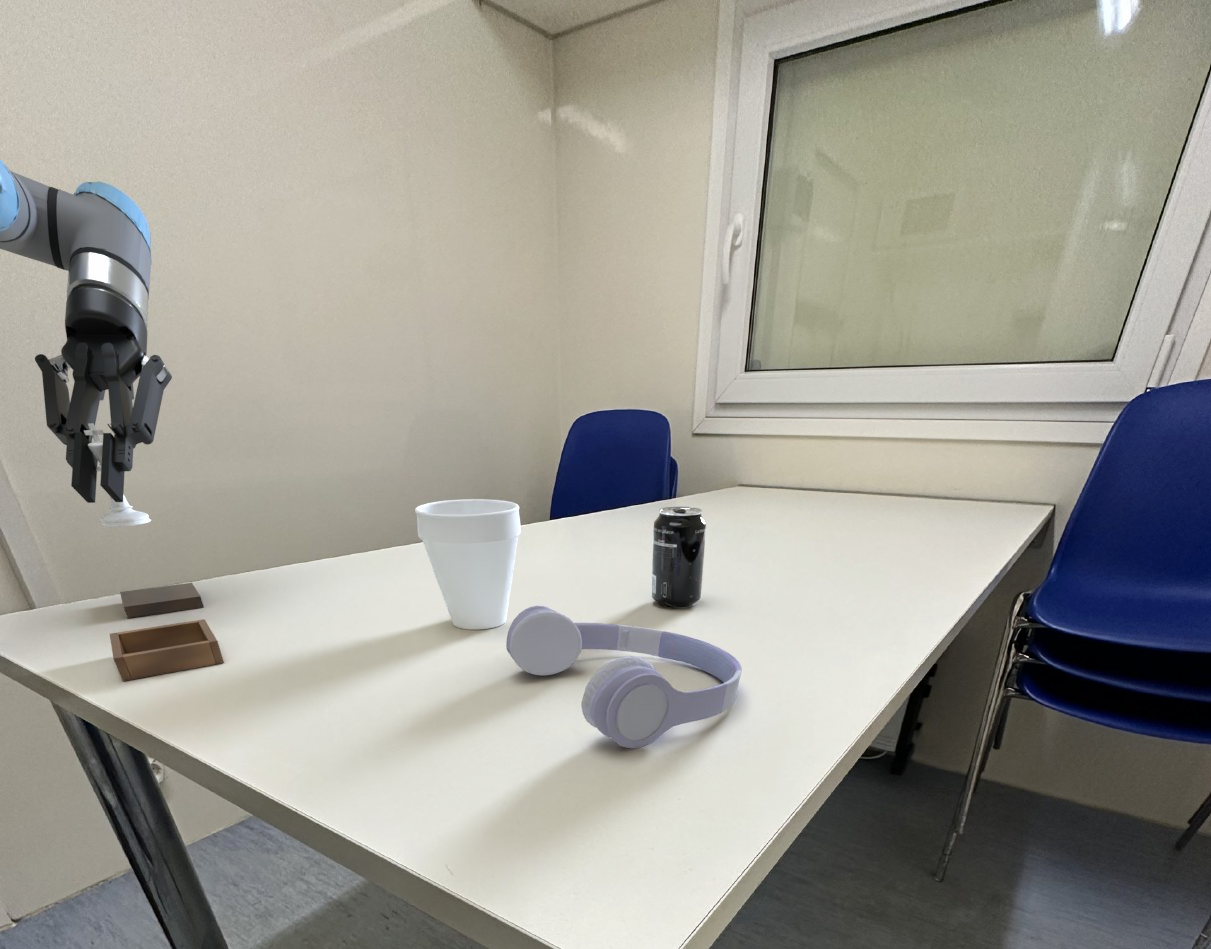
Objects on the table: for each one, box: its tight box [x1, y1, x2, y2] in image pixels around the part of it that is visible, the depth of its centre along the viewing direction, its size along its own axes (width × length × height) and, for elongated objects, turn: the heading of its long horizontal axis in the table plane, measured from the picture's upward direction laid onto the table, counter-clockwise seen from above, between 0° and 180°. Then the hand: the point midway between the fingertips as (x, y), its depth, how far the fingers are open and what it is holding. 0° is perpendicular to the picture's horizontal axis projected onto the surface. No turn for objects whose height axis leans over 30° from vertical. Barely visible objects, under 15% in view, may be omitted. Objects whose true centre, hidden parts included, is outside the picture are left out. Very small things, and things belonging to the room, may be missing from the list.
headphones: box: [505, 605, 743, 749], centre depth 65 cm, size 22×7×20 cm
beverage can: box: [651, 506, 707, 609], centre depth 90 cm, size 7×7×12 cm
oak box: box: [109, 618, 225, 682], centre depth 74 cm, size 10×10×2 cm
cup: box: [414, 498, 522, 631], centre depth 83 cm, size 12×12×14 cm
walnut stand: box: [119, 582, 205, 619], centre depth 93 cm, size 9×9×2 cm
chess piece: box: [84, 423, 152, 528], centre depth 75 cm, size 5×5×10 cm
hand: (97, 493), depth 72 cm, fingers closed on chess piece, 2 cm apart
